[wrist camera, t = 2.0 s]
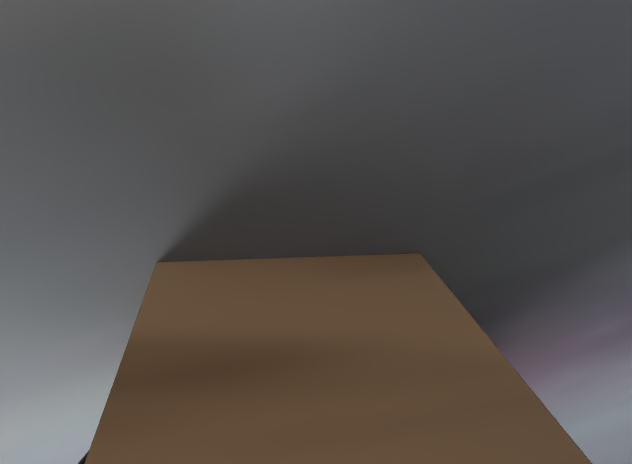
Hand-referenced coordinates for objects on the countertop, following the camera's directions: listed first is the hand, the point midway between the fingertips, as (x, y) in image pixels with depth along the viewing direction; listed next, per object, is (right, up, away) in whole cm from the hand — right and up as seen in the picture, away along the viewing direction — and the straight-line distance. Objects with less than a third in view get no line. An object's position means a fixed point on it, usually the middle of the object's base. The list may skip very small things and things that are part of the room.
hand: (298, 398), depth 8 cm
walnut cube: (0, +1, +1) cm, 1 cm away
